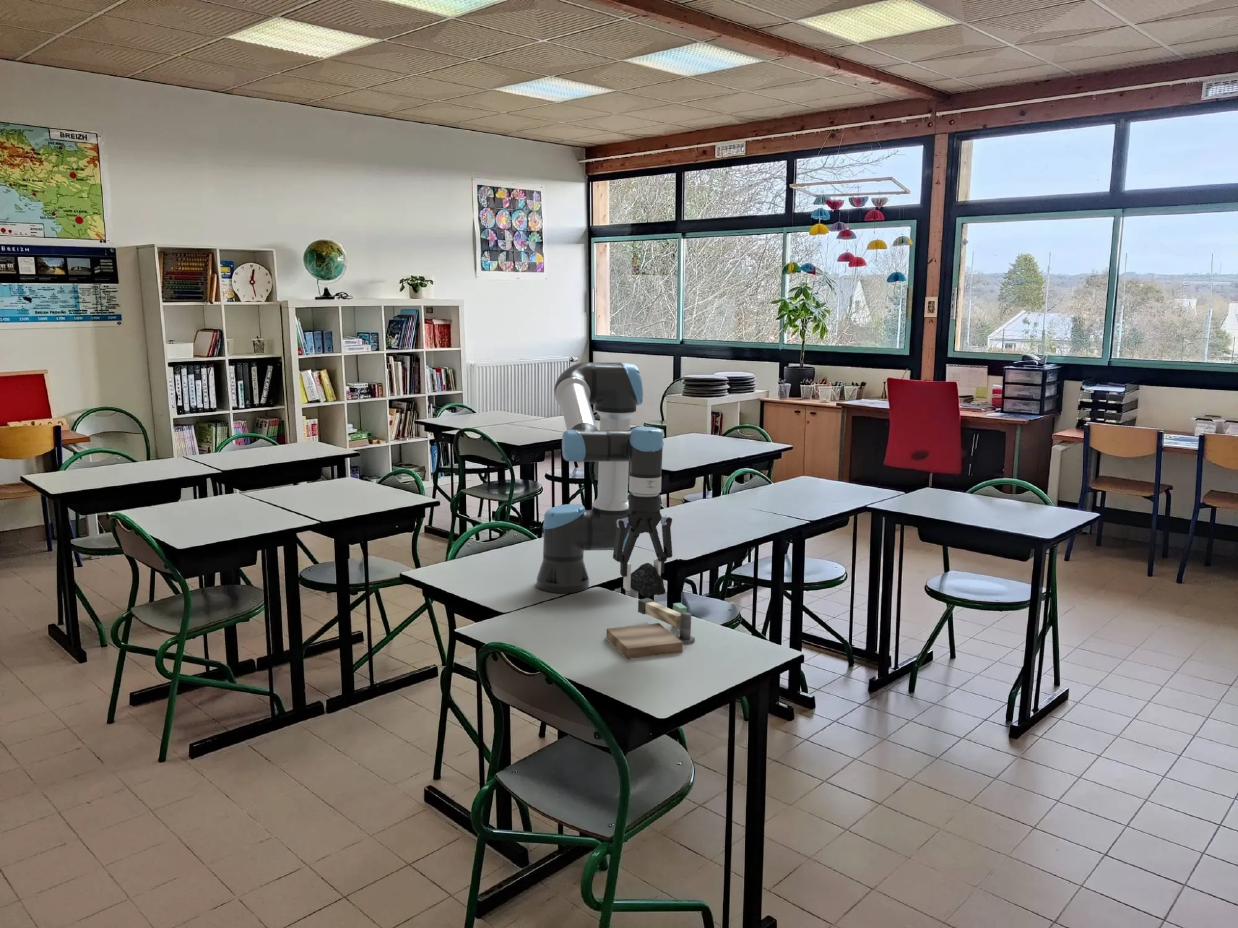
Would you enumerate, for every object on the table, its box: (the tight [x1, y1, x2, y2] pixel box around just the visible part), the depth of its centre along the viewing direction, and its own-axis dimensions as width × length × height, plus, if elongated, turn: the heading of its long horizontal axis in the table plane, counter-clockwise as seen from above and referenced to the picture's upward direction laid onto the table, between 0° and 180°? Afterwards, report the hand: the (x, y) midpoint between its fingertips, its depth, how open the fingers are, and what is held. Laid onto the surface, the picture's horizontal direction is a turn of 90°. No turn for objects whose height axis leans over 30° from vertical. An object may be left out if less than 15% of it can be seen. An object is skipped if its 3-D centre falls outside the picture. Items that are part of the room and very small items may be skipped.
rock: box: [630, 562, 666, 598], centre depth 220 cm, size 7×10×6 cm
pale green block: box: [672, 602, 688, 631], centre depth 238 cm, size 4×2×6 cm, turn 21°
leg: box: [637, 597, 681, 628], centre depth 236 cm, size 15×3×3 cm, turn 37°
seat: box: [605, 611, 696, 660], centre depth 226 cm, size 14×20×7 cm
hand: (641, 587), depth 223 cm, fingers closed on rock, 7 cm apart
